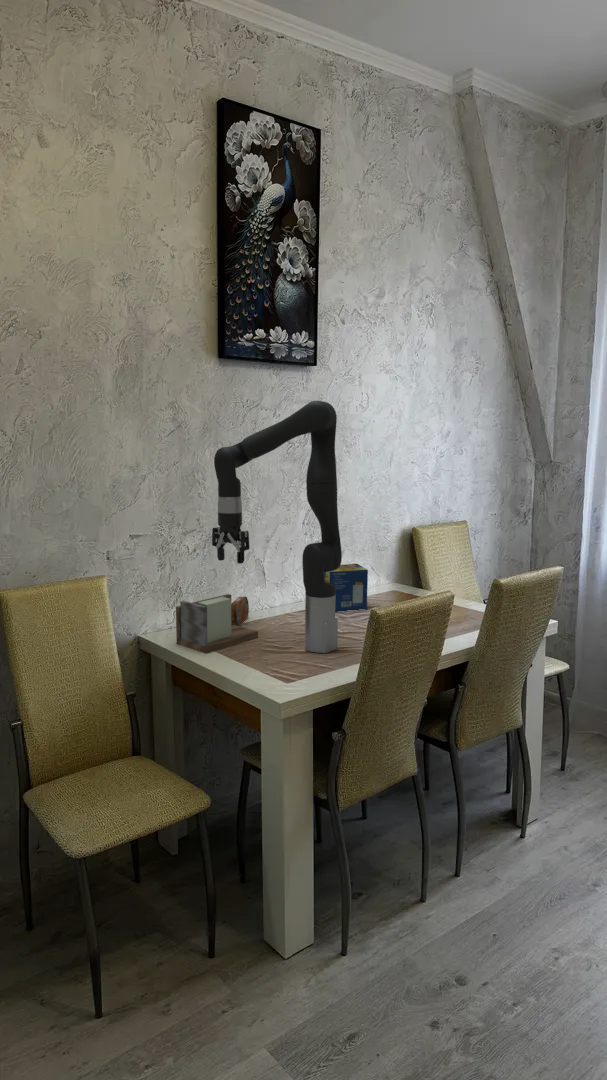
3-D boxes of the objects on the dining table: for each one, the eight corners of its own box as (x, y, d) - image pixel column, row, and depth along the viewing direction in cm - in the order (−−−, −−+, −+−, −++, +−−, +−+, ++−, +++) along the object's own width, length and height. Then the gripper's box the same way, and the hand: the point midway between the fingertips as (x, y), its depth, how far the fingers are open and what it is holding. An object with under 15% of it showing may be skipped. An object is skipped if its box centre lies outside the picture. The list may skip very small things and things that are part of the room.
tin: (237, 629, 252) (237, 604, 250) (228, 628, 252) (228, 604, 251) (249, 617, 266) (249, 594, 265) (241, 616, 267) (241, 593, 266)
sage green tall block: (231, 635, 237) (231, 598, 235) (207, 642, 230) (207, 604, 228) (222, 633, 240) (222, 596, 238) (198, 640, 232) (198, 602, 230)
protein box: (319, 605, 282) (319, 565, 280) (357, 603, 287) (358, 563, 284) (328, 613, 273) (328, 571, 270) (367, 610, 277) (368, 569, 274)
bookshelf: (257, 637, 242) (257, 595, 240) (206, 653, 226) (205, 608, 224) (228, 628, 252) (227, 588, 249) (176, 643, 235) (175, 600, 233)
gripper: (254, 511, 233) (255, 562, 236) (222, 508, 242) (223, 557, 244) (237, 513, 227) (238, 566, 230) (205, 510, 236) (206, 560, 239)
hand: (230, 561), depth 237 cm, fingers open, 8 cm apart
